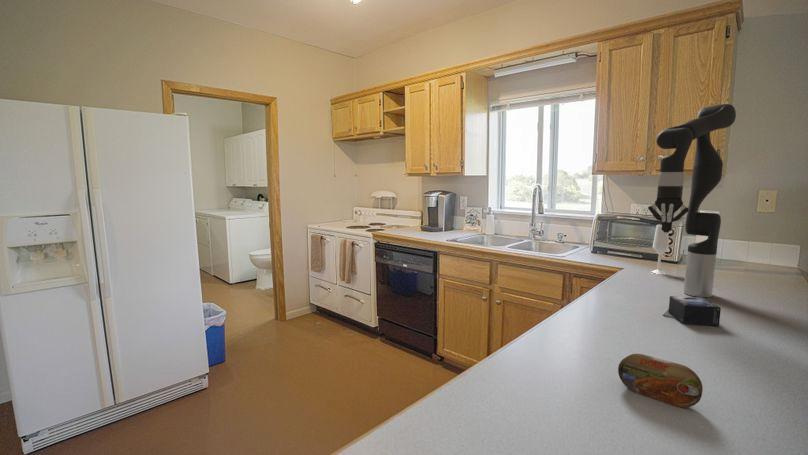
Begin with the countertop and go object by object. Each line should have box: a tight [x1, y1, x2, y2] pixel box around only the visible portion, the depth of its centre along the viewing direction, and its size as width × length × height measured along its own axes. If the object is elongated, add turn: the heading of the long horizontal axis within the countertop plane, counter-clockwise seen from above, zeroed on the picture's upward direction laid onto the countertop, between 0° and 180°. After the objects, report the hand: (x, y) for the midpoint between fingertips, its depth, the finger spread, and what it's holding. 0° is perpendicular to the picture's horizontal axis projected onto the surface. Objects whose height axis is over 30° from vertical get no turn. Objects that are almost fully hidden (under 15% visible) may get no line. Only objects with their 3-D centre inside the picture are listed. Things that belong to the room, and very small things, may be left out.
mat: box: [662, 308, 676, 319], centre depth 133 cm, size 14×10×1 cm
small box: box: [667, 295, 722, 327], centre depth 127 cm, size 11×6×10 cm
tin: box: [617, 353, 704, 408], centre depth 82 cm, size 15×3×8 cm, turn 46°
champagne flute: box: [651, 224, 670, 275], centre depth 190 cm, size 7×7×24 cm
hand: (666, 232), depth 142 cm, fingers closed
